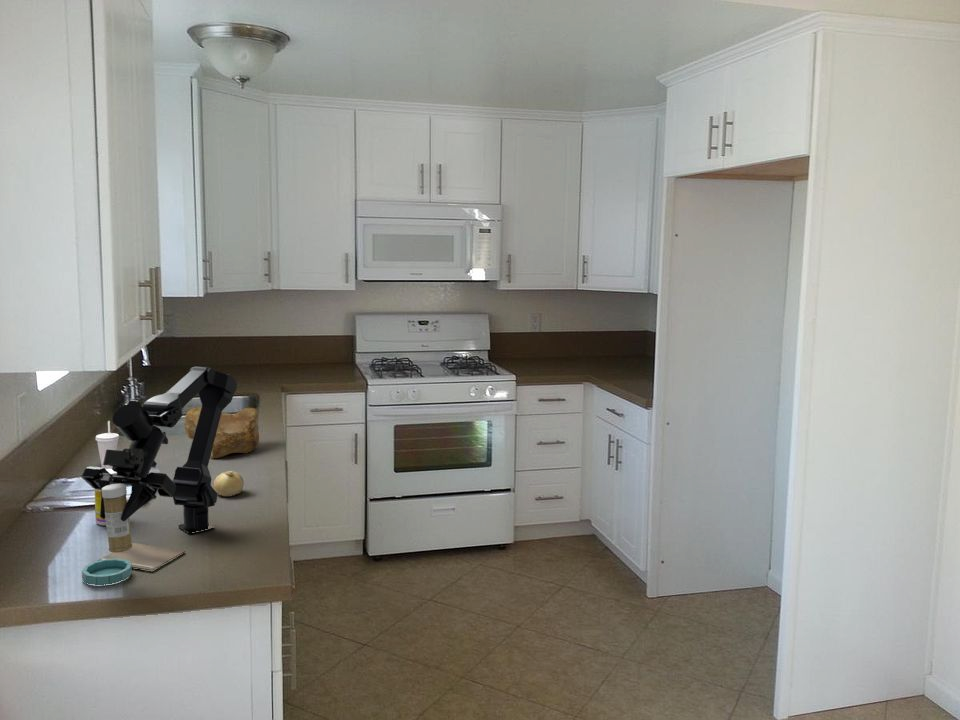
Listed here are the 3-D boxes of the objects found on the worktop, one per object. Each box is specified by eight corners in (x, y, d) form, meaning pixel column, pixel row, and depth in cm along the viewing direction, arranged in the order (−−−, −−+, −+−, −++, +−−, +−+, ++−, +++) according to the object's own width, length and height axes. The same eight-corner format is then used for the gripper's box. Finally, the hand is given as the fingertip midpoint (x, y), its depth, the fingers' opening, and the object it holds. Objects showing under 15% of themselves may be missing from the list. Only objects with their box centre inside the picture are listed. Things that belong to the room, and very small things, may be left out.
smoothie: (119, 469, 243) (118, 423, 241) (96, 470, 241) (94, 424, 238) (120, 463, 249) (118, 418, 247) (97, 464, 246) (95, 419, 244)
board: (132, 544, 186) (132, 542, 186) (184, 553, 183) (184, 550, 182) (97, 563, 176) (97, 559, 176) (152, 572, 172) (152, 569, 172)
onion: (207, 495, 222) (206, 470, 221) (228, 488, 229) (228, 463, 228) (229, 501, 218) (228, 475, 217) (250, 493, 225) (250, 468, 224)
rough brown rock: (183, 465, 251) (183, 419, 248) (184, 447, 267) (184, 403, 263) (261, 463, 259) (262, 418, 255) (258, 446, 274) (259, 403, 271)
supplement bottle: (106, 528, 196) (104, 476, 194) (89, 522, 199) (87, 472, 197) (131, 520, 201) (129, 470, 199) (114, 515, 205) (112, 465, 203)
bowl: (105, 565, 175) (104, 556, 175) (141, 571, 172) (140, 562, 172) (72, 582, 166) (72, 572, 166) (110, 589, 164) (109, 579, 163)
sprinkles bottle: (133, 544, 171) (126, 481, 169) (132, 551, 166) (125, 487, 164) (109, 547, 169) (102, 484, 167) (107, 555, 165) (100, 490, 163)
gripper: (84, 429, 170) (50, 496, 161) (166, 436, 166) (135, 505, 157) (110, 455, 178) (79, 521, 170) (188, 462, 175) (160, 530, 166)
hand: (112, 519), depth 165 cm, fingers closed on sprinkles bottle, 4 cm apart
